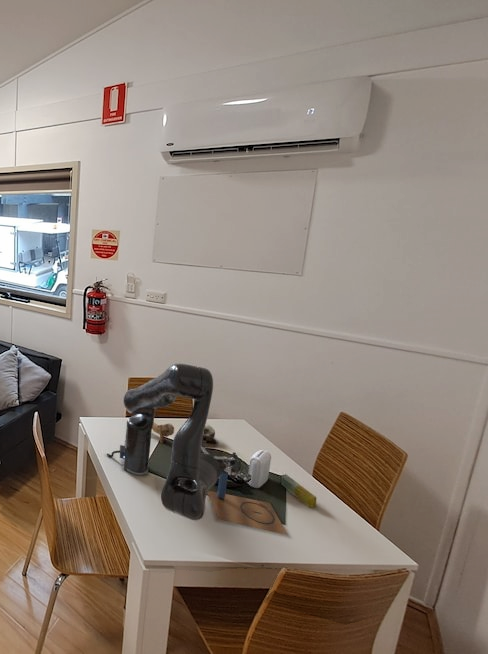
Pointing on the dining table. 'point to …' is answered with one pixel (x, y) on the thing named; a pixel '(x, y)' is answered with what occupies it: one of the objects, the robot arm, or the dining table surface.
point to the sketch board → (233, 513)
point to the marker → (222, 485)
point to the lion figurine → (163, 430)
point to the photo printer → (259, 468)
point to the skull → (209, 436)
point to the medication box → (298, 491)
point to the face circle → (253, 519)
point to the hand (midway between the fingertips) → (219, 448)
